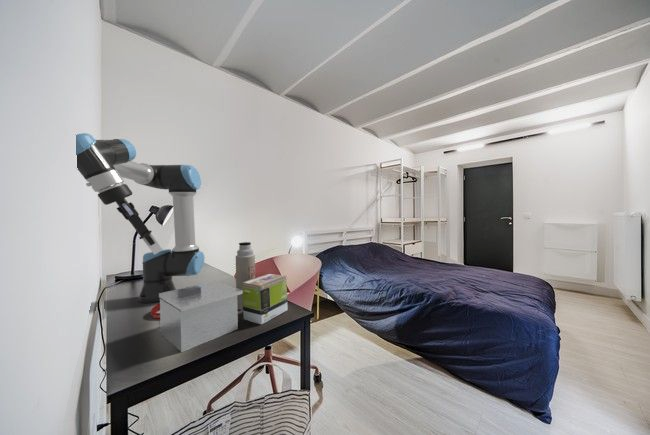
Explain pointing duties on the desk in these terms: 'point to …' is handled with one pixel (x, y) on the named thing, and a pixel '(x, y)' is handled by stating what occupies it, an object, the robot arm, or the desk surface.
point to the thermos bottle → (244, 268)
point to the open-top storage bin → (198, 322)
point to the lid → (199, 295)
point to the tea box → (264, 298)
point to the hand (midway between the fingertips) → (158, 251)
